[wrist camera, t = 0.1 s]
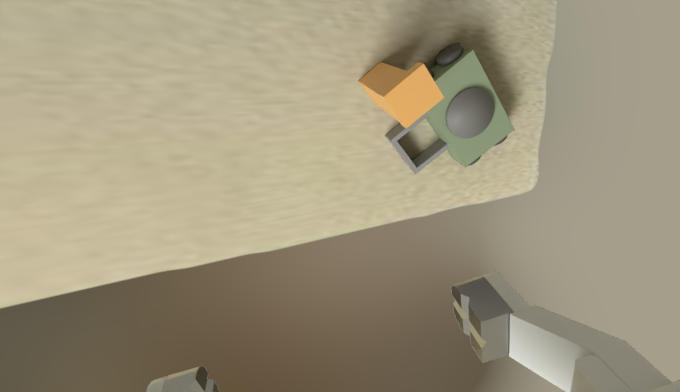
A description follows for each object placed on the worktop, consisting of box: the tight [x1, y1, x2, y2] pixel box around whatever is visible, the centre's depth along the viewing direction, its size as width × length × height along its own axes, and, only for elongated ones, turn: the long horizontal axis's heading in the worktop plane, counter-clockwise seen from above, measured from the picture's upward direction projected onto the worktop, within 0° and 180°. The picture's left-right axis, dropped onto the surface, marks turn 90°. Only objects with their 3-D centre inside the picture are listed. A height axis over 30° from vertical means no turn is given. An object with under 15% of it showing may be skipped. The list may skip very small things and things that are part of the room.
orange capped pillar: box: [359, 62, 444, 128], centre depth 49 cm, size 6×5×14 cm
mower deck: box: [385, 43, 515, 174], centre depth 58 cm, size 17×18×6 cm
